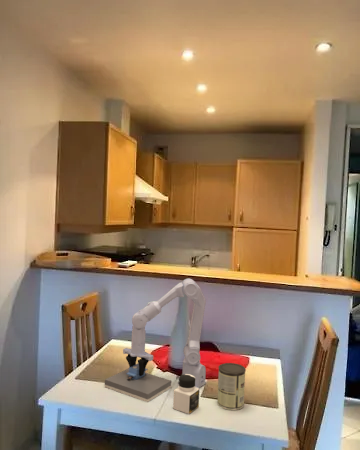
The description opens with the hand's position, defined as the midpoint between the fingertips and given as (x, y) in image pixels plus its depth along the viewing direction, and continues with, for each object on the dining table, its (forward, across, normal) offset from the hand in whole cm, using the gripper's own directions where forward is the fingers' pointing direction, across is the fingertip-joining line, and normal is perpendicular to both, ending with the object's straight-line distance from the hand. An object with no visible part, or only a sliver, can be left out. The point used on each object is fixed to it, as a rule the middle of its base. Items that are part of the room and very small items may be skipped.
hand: (137, 373), depth 173 cm
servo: (+1, 0, 0) cm, 1 cm away
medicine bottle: (+4, +28, -6) cm, 29 cm away
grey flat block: (+4, +3, -3) cm, 6 cm away
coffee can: (+4, +40, +7) cm, 41 cm away
